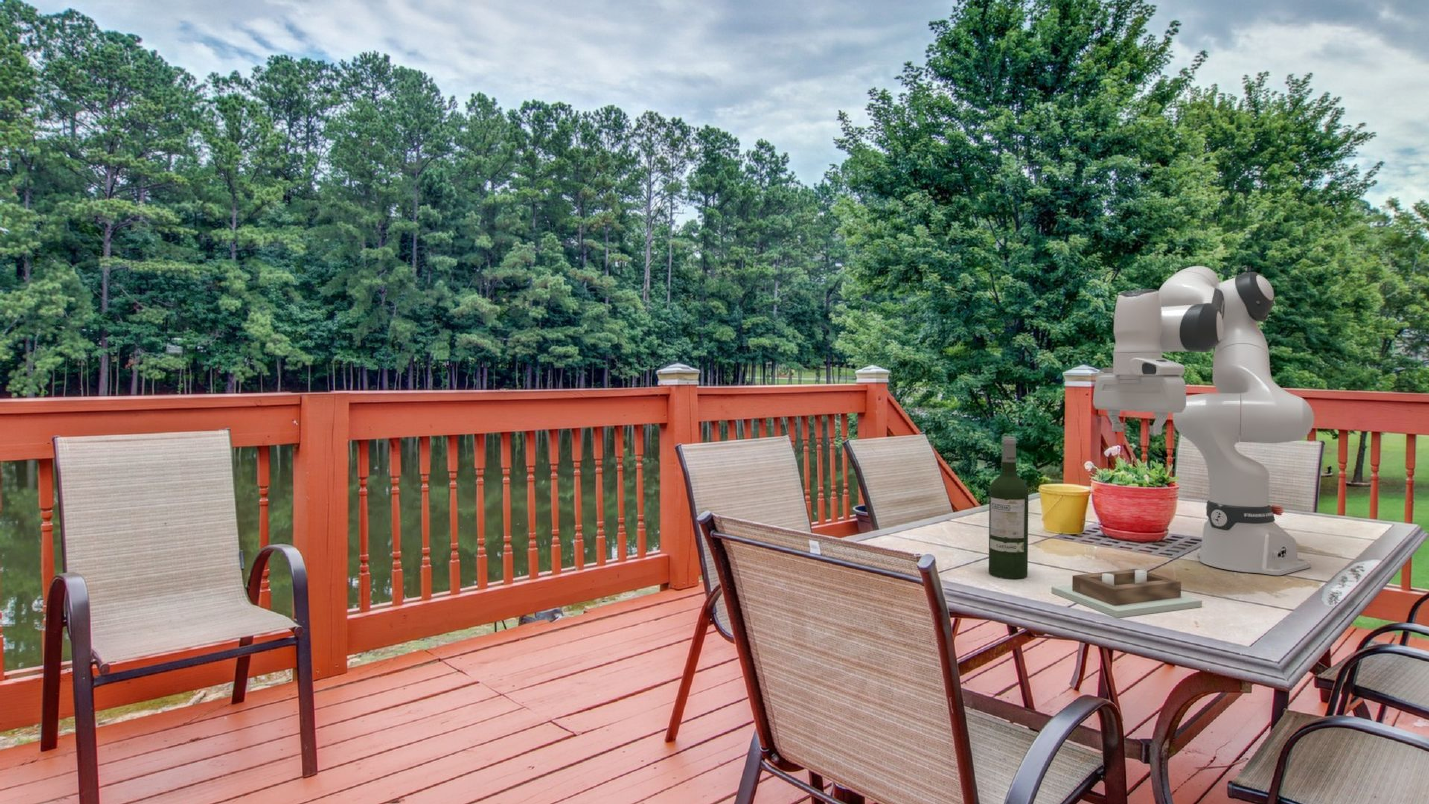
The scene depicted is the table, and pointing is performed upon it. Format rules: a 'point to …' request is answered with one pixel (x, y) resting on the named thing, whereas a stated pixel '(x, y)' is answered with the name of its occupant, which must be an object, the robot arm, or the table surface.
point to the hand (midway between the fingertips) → (1136, 433)
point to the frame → (1126, 587)
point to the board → (1127, 609)
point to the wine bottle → (1008, 519)
